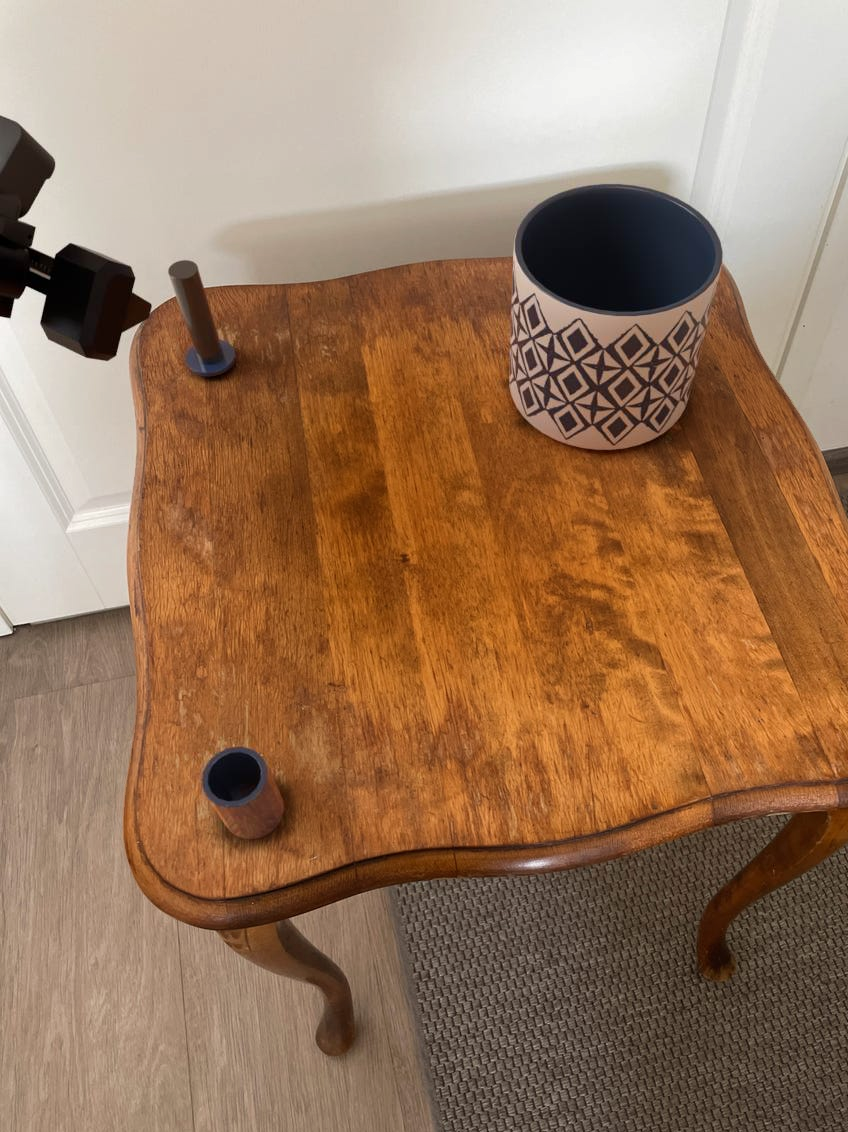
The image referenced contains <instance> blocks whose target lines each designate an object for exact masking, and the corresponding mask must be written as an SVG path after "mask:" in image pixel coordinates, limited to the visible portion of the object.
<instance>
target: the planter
mask: <svg viewBox="0 0 848 1132" xmlns="http://www.w3.org/2000/svg"><path fill="white" fill-rule="evenodd" d="M721 242H722V241H721V240H720V237H719V235H718V233H717V230H716V229H715V228H714V226H713V225H712V224H711V222H710V221H709V220H708V219H707V217H705V216H704V215H703V214H702V213H701V212H700V211H699V210H698V209H696V208H694V207H693V206H691V205H690V204H688V203H686V202H685V201H683V200H681V199H679V198H678V197H675V196H673V195H671V194H668V193H666V192H663V191H659V190H656V189H653V188H650V187H645V186H639V185H635V184H634V185H633V184H623V183H600V184H589V185H583V186H578V187H574V188H570V189H567V190H564V191H561V192H558V193H557V194H554V195H552V196H550V197H547V198H546V199H544V200H543V201H541V202H540V203H538V204H537V205H535V206H534V207H533V208H532V209H531V210H530V211H529V212H528V213H527V214H526V215H525V216H524V218H523V219H522V220H521V222H520V224H519V226H518V228H517V230H516V232H515V236H514V240H513V254H512V255H513V256H512V277H511V280H512V281H511V305H510V307H511V309H510V335H509V336H510V338H509V339H510V341H509V371H508V373H509V379H508V383H509V386H508V387H509V391H510V396H511V398H512V400H513V402H514V405H515V407H516V408H517V410H518V411H519V413H520V414H521V416H522V417H523V418H524V419H525V420H526V421H527V422H528V423H529V424H531V426H532V427H533V428H535V429H536V430H537V431H539V432H541V433H542V434H543V435H546V436H548V437H549V438H551V439H553V440H554V441H555V440H556V441H558V442H560V443H563V444H566V445H569V446H573V447H577V448H581V449H587V450H597V451H607V450H608V451H613V450H614V451H615V450H621V449H622V450H623V449H628V448H631V447H636V446H640V445H642V444H645V443H648V442H650V441H652V440H654V439H656V438H658V437H659V436H661V435H663V434H664V433H665V432H667V431H668V430H669V429H671V428H672V427H673V426H674V425H675V424H676V423H677V421H678V420H679V419H680V418H681V416H682V415H683V414H684V413H683V412H684V411H685V409H686V407H687V404H688V401H689V398H690V397H689V396H690V393H691V390H692V386H693V384H694V383H693V382H694V378H695V374H696V370H697V367H698V363H699V359H700V355H701V351H702V348H703V343H704V340H705V336H706V331H707V327H708V324H709V320H710V316H711V312H712V307H713V304H714V300H715V296H716V292H717V289H718V284H719V279H720V276H721V272H722V266H723V258H724V252H723V247H722V243H721Z"/></svg>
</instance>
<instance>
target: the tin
mask: <svg viewBox="0 0 848 1132" xmlns="http://www.w3.org/2000/svg"><path fill="white" fill-rule="evenodd" d="M201 788H202V791H203V793H204V795H205V797H206V799H207V800H208V802H209V803H210V805H211V806H212V808H213V809H214V810H215V812H216V813H217V815H218V816H219V818H220V820H221V821H222V823H223V824H224V826H225V827H226V828H227V830H228V831H229V832H230V833H232V834H233V835H234V836H236V837H237V838H240V839H243V840H257V839H261V838H263V837H266V836H267V835H269V834H271V833H272V832H274V830H276V828H277V827H278V825H279V824H280V823H281V821H282V819H283V816H284V812H285V803H284V799H283V797H282V795H281V792H280V790H279V788H278V785H277V784H276V781H275V780H274V778H273V775H272V773H271V772H270V770H269V767H268V765H267V763H266V761H265V759H264V757H263V756H262V755H261V754H260V753H258V752H257V751H256V750H255V749H254V748H253V749H252V748H249V747H246V746H233V747H232V746H231V747H230V746H229V747H227V748H225V749H223V750H220V751H218V752H217V753H216V754H215V755H214V756H213V757H212V758H211V759H209V760H208V762H207V763H206V765H205V766H204V768H203V770H202V774H201Z"/></svg>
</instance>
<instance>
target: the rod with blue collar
mask: <svg viewBox="0 0 848 1132" xmlns="http://www.w3.org/2000/svg"><path fill="white" fill-rule="evenodd" d="M167 271H168V272H167V274H168V277H169V280H170V282H171V286H172V288H173V291H174V294H175V297H176V300H177V304H178V306H179V309H180V312H181V316H182V319H183V321H184V324H185V327H186V331H187V334H188V336H189V339H190V342H191V347H190V348H189V349H188V350H187V351H186V354H185V363H186V366H187V368H188V369H189V370H190V372H192V373H193V374H195V375H197V376H201V377H214V376H219V375H222V374H224V373H225V372H227V371H229V370H230V369H231V368H232V367H233V366H234V365H235V362H236V360H237V354H236V351H235V348H234V346H233V345H232V344H231V343H230V342H228V341H226V340H223V339H220V337H219V332H218V329H217V327H216V326H217V325H216V323H215V319H214V317H213V313H212V309H211V306H210V303H209V299H208V297H207V296H208V295H207V293H206V290H205V289H206V288H205V286H204V283H203V279H202V275H201V272H200V270H199V266H198V264H197V263H196V262H194V261H192V260H189V259H183V260H178V261H176V262H173V263H172V264H171V265H170V266H169V268H168V270H167Z"/></svg>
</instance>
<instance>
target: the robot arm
mask: <svg viewBox="0 0 848 1132" xmlns="http://www.w3.org/2000/svg"><path fill="white" fill-rule="evenodd" d="M55 169H56V160H55V158H54V156H53V155H52V154H50V153H49V151H47V150H46V149H45V147H43V146H42V144H40V143H39V142H38V141H37V140H36V138H35V137H33V135H31V134H30V133H29V132H28V131H27V130H26V129H25V128H24V127H23V126H22V125H21V124H20V123H19V122H17V121H15V120H13V119H11V118H8V117H6V116H3V115H0V318H5V319H10V320H11V318H12V314H13V310H14V304H15V300H20V298H21V297H22V295H24V292H25V291H26V288H29V289H31V290H33V291H35V292H38V293H39V294H42V295H44V296H45V300H44V304H43V309H42V313H41V317H40V322H39V324H40V327H41V328H42V330H43V333H44V334H45V336H46V338H47V340H49V342H52V343H55V344H57V345H59V346H61V347H63V348H65V349H67V350H69V351H72V352H73V353H76V354H77V355H80V356H82V357H84V358H85V359H91V360H98V361H103V362H104V361H105V362H109V361H111V360H113V359H114V358H115V357H117V354H118V350H119V347H120V343H121V338H122V334H123V333H125V332H126V331H129V330H130V329H132V328H134V327H136V326H137V325H139V324H141V323H143V322H145V321H146V320H148V319H149V318H150V315H151V311H152V307H153V306H152V302H150V301H148V300H146V299H144V298H143V297H141V296H139V295H138V294H136V293H134V291H133V290H134V286H135V282H136V276H135V273H134V270H133V268H132V266H131V265H129V264H127V263H124V262H122V261H119V260H118V259H115V258H113V257H111V256H108V255H106V254H103V253H101V252H98V251H96V250H94V249H90V248H88V247H85V246H82V245H80V244H75V243H72V242H69V243H68V244H67V245H65V246H64V247H62V248H61V249H60V250H59V251H58V252H56V253H55V254H54V256H52V255H50V254H48V253H45V252H43V251H40V250H38V249H36V248H34V247H32V246H33V242H34V239H35V233H36V229H37V227H36V226H34V225H33V224H30V223H28V222H26V221H22V220H20V219H22V218H24V217H25V216H26V215H27V214H28V213H29V212H30V210H31V208H32V206H33V204H34V202H35V201H36V199H37V198H38V195H39V193H40V191H41V190H42V188H43V186H44V185H45V184H46V181H47V180H50V179H51V178H52V176H53V174H54V172H55Z"/></svg>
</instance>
